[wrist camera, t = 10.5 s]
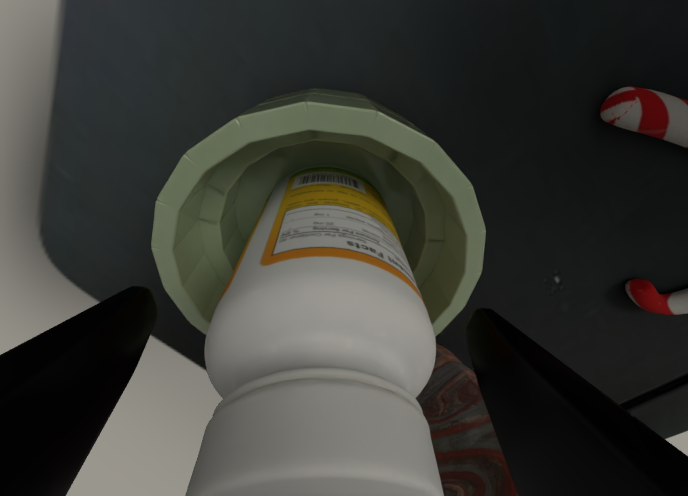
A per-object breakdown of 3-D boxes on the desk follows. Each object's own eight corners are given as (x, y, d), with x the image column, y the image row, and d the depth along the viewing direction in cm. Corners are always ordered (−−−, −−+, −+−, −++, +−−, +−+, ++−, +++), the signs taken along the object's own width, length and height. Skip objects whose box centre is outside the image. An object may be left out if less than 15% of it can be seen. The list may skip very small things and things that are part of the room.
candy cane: (752, -11, 8) (855, 241, 13) (701, -2, 9) (815, 227, 14) (517, 201, 11) (672, 334, 16) (501, 189, 12) (651, 317, 17)
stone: (439, 297, 16) (557, 558, 8) (520, 352, 19) (666, 579, 11) (310, 395, 21) (295, 613, 13) (390, 425, 24) (420, 616, 16)
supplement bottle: (318, 286, 14) (300, 573, 6) (238, 211, 12) (40, 527, 4) (409, 232, 13) (543, 524, 5) (339, 131, 10) (364, 387, 2)
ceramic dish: (407, 304, 16) (430, 377, 12) (223, 292, 15) (187, 368, 11) (473, 107, 10) (552, 133, 7) (188, 68, 9) (95, 73, 6)
